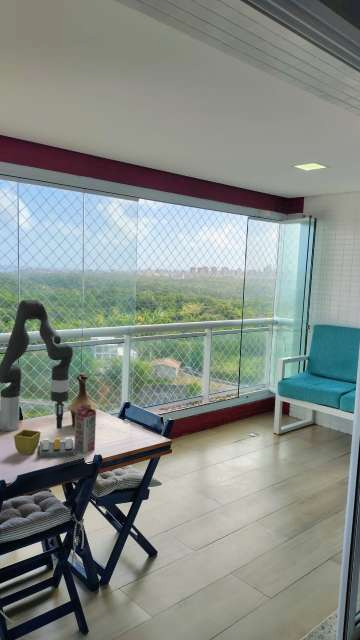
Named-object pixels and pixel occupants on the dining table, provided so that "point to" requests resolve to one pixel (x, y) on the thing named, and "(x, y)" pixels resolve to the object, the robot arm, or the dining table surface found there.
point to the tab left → (45, 443)
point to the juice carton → (85, 429)
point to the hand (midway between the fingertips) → (59, 428)
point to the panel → (56, 450)
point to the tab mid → (56, 443)
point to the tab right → (68, 442)
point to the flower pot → (27, 441)
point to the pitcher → (81, 398)
